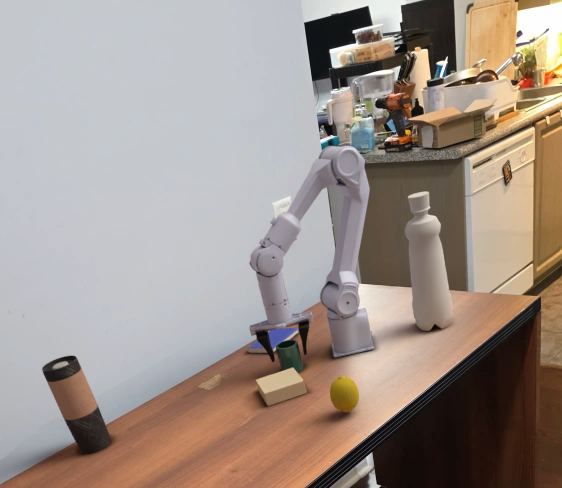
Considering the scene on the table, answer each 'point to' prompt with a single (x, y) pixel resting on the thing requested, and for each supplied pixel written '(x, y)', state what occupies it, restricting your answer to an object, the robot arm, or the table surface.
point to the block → (281, 386)
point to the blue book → (274, 339)
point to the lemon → (344, 394)
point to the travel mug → (77, 404)
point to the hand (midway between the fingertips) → (289, 356)
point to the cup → (289, 355)
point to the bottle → (427, 266)
